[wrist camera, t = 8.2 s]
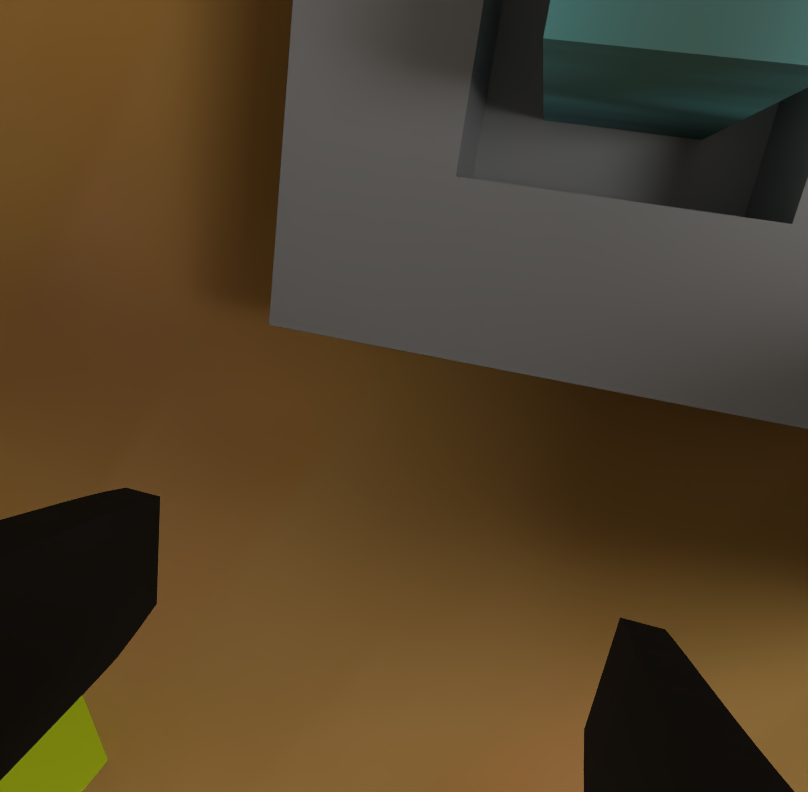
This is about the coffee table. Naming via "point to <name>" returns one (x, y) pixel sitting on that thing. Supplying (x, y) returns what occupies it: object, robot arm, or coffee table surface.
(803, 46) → the teal peg
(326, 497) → the coffee table surface
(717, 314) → the well block
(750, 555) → the coffee table surface
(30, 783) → the puzzle toy
